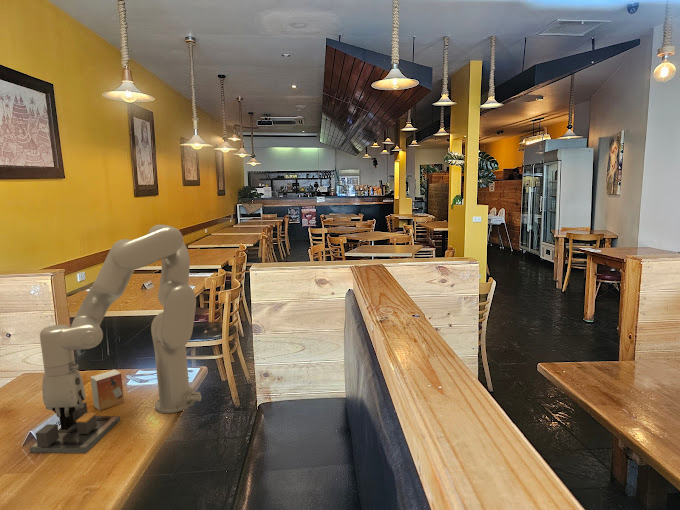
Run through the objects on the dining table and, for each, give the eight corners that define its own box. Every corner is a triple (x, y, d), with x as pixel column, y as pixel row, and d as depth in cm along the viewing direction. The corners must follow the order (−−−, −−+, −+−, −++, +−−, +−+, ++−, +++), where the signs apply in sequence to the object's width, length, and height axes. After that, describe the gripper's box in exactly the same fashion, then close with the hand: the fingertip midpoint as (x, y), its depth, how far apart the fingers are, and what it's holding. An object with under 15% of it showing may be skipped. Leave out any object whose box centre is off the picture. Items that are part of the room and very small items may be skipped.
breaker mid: (97, 425, 130) (95, 412, 130) (87, 433, 126) (86, 420, 125) (87, 425, 130) (85, 412, 130) (77, 433, 126) (76, 420, 125)
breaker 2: (87, 414, 137) (86, 402, 137) (78, 421, 133) (77, 409, 132) (78, 414, 137) (77, 402, 137) (69, 421, 133) (67, 409, 132)
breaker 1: (59, 437, 124) (57, 424, 124) (47, 446, 120) (46, 433, 119) (49, 437, 125) (47, 424, 124) (37, 446, 120) (35, 433, 120)
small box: (99, 411, 143) (95, 381, 141) (93, 406, 147) (89, 376, 145) (124, 402, 149) (121, 373, 147) (118, 397, 152) (115, 368, 151)
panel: (120, 420, 137) (119, 415, 136) (85, 453, 120) (85, 447, 120) (71, 420, 138) (70, 415, 137) (30, 452, 121) (29, 447, 121)
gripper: (93, 363, 129) (99, 421, 132) (44, 363, 130) (52, 420, 132) (76, 373, 121) (84, 434, 124) (25, 373, 122) (33, 434, 125)
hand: (67, 427), depth 128 cm, fingers closed
